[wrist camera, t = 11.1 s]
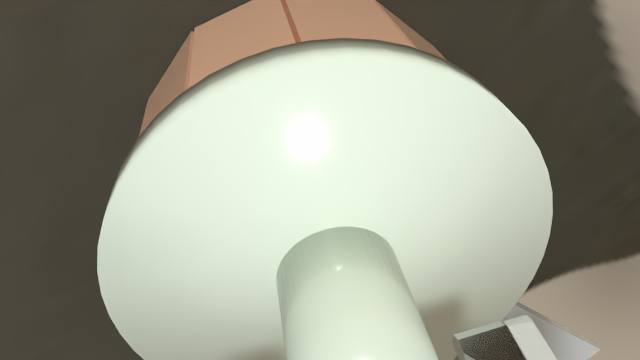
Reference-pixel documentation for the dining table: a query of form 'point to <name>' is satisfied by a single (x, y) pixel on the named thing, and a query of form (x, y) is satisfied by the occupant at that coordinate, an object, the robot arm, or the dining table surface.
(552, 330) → the mat
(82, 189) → the dining table surface
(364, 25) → the bowl
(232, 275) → the lid
